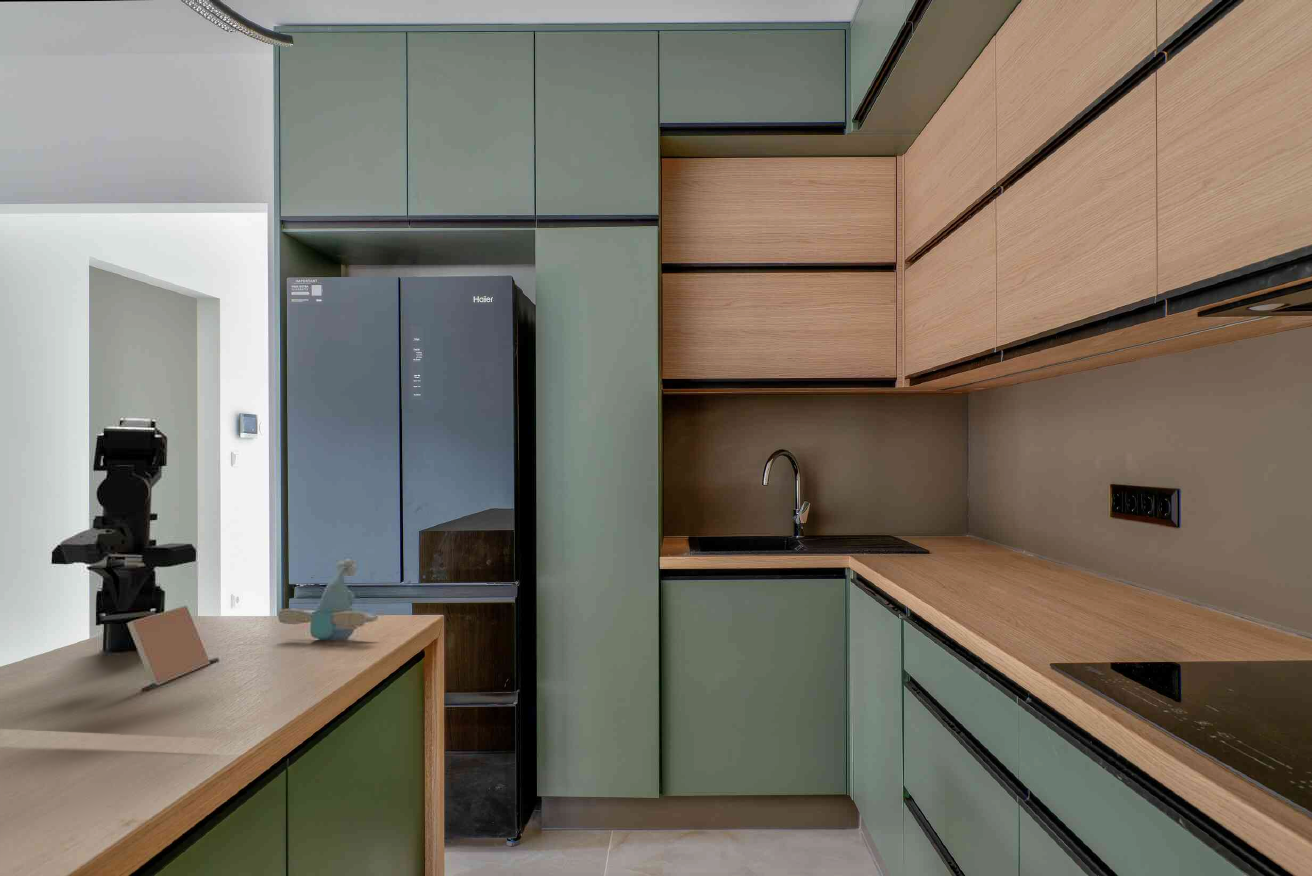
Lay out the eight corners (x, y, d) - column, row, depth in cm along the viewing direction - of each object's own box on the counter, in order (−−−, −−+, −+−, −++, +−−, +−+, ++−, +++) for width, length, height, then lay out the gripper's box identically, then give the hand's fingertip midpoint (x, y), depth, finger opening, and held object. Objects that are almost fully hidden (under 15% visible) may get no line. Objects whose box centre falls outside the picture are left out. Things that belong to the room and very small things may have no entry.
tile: (126, 623, 93) (132, 620, 93) (181, 607, 103) (187, 604, 103) (152, 687, 92) (158, 684, 92) (205, 665, 102) (211, 662, 102)
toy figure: (391, 636, 125) (393, 559, 126) (361, 652, 115) (364, 568, 115) (310, 632, 127) (313, 556, 127) (274, 648, 116) (276, 565, 117)
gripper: (15, 511, 91) (10, 621, 91) (139, 514, 90) (135, 626, 90) (89, 505, 103) (84, 603, 102) (200, 508, 101) (196, 607, 101)
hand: (123, 610), depth 98 cm, fingers closed
